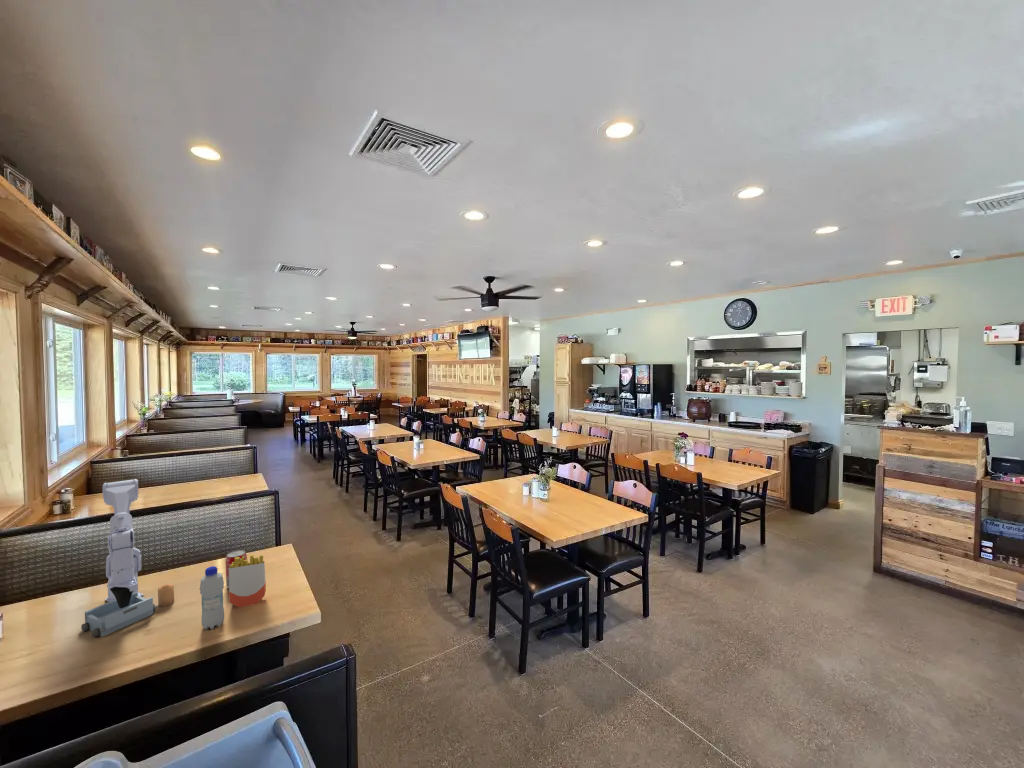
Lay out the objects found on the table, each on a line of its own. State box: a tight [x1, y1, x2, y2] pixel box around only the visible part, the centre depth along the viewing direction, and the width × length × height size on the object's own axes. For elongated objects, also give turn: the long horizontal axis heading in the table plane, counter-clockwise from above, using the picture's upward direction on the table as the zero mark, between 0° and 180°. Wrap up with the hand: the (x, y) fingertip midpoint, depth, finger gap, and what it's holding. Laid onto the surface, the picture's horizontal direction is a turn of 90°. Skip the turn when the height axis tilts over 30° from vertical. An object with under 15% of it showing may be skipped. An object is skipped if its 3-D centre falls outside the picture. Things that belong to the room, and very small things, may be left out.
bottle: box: [199, 565, 225, 630], centre depth 145 cm, size 7×7×20 cm
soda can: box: [225, 549, 248, 589], centre depth 171 cm, size 7×7×13 cm
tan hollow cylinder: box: [157, 583, 175, 607], centre depth 159 cm, size 5×5×7 cm
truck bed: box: [80, 591, 158, 638], centre depth 147 cm, size 12×17×6 cm
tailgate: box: [104, 596, 154, 629], centre depth 145 cm, size 1×13×4 cm, turn 155°
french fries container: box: [228, 554, 267, 608], centre depth 159 cm, size 5×11×18 cm, turn 113°
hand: (124, 606), depth 146 cm, fingers closed
